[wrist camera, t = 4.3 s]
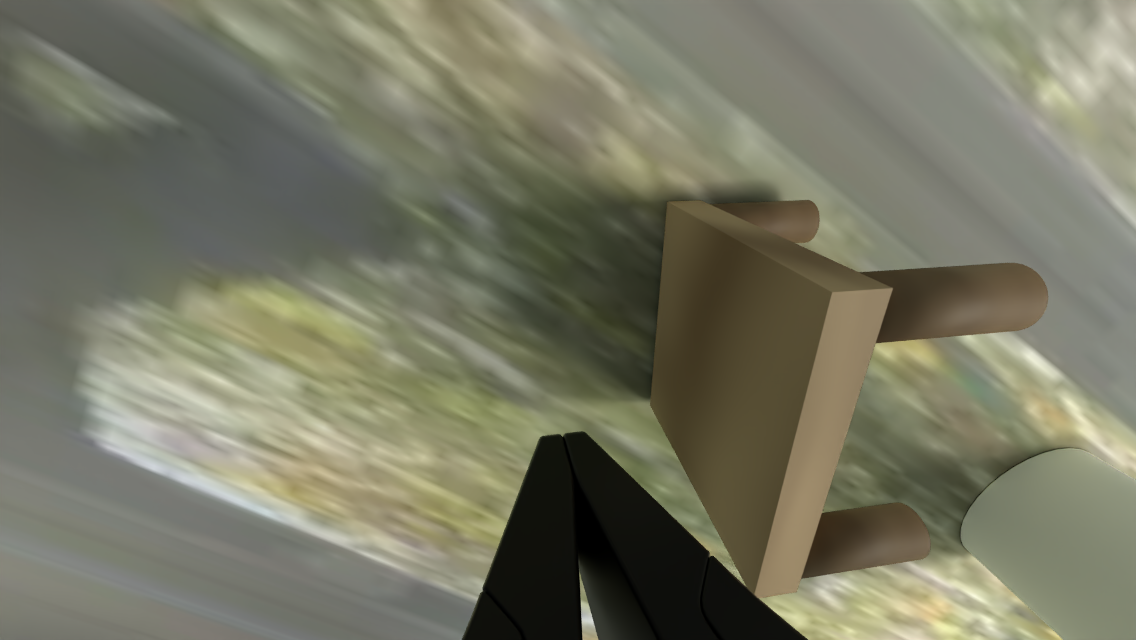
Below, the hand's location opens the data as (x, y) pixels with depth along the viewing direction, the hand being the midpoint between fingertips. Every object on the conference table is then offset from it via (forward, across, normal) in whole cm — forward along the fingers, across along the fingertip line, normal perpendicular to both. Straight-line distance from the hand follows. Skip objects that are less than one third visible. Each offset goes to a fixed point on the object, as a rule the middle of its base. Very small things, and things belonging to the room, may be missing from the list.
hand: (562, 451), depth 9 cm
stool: (+2, -8, 0) cm, 8 cm away
